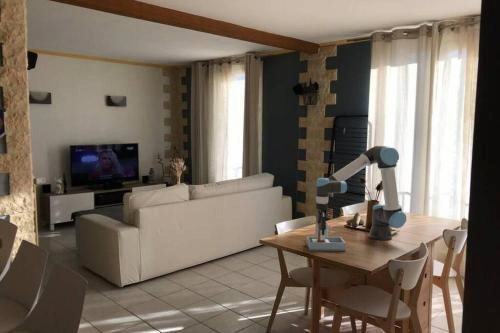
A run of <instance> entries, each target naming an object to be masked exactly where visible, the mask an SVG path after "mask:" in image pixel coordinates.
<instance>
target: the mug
mask: <svg viewBox="0 0 500 333" xmlns="http://www.w3.org/2000/svg"><path fill="white" fill-rule="evenodd" d="M314 227H315V233H314V234H315V236H314V237H318V223H317V222H316V223H315V226H314ZM331 231H332V230H331V225H330V224H329V223H327V222H326V230H325V237H329V236H330V234H331Z"/></svg>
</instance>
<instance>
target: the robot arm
mask: <svg viewBox="0 0 500 333" xmlns="http://www.w3.org/2000/svg"><path fill="white" fill-rule="evenodd" d="M399 160H400V154H399V152H398V150H397V148H394V147H392V146H390V145H388V146H387V145H374V146H372V147H371V148H368V149H367V150H365V151H364V152H363V153H361V154H360V156H359V157H357V158H356V159H355V160H352V161H351V162H350V163H349V164H346V166H344V167H342V168H340V169H339V170H338V171H336V172H335V173H332V174H331V175H330V176H329V177H318V178H317V179H316V185H315V186H316V187H315V188H316V190H315V192H316V197H314V199H315V202H316V203H315V209H316V210H317V221H316V223H318V224H319V223H321V229H320V230H321V231H320V240H325V230H326V223H327V222H326V221H327V220H326V219H327V218H326V216H327V215H326V212H325V211H326V210H328V209H329V196H330V194H344V193H346V192H347V190H348V184H347V182H346V180H347V179H349V178H351V177H352V176H354V175H355V174H357V173H358V172H360V171H361V170H363V169H364V168H365V167H370V166H372V165H374V164H377V165H376V166H377V169H379V170H380V176H381V184H382V191H383V200H384V204H375V205H373V206H372V223H371V225H372V226H371V228H370V231H369V233H368V234H369V235H368V236H369V238H371V239H375V240H379V241H390V240H392V239H393V233H392V230H391V228H393V229H401V228H402V227H403V226H405V224H406V222H407V215H406V213H405V212H404V211H403V208H402V206H401V204H399V203H400V202H399V195H398V188H397V187H398V186H397V179H396V178H397V177H396V170H395V168H396V167H397V163H398V161H399ZM323 227H324V228H323Z"/></svg>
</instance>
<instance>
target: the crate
mask: <svg viewBox="0 0 500 333" xmlns="http://www.w3.org/2000/svg"><path fill="white" fill-rule="evenodd" d="M346 244H347V243H346V242H345V240H344V239H343V238H342V237H341V236H328V237H325V240H324V242H318V237H315V236H306V245H307V248H308V250H309V251H314V252H315V251H319V252H320V251H322V252H323V251H324V252H346V249H347V248H346V247H347V246H346Z"/></svg>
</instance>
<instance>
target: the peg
mask: <svg viewBox="0 0 500 333" xmlns="http://www.w3.org/2000/svg"><path fill="white" fill-rule="evenodd" d="M323 228H324V227H323ZM320 229H321V223H319V224H318V242H324V240H320V231H321V230H320Z"/></svg>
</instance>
